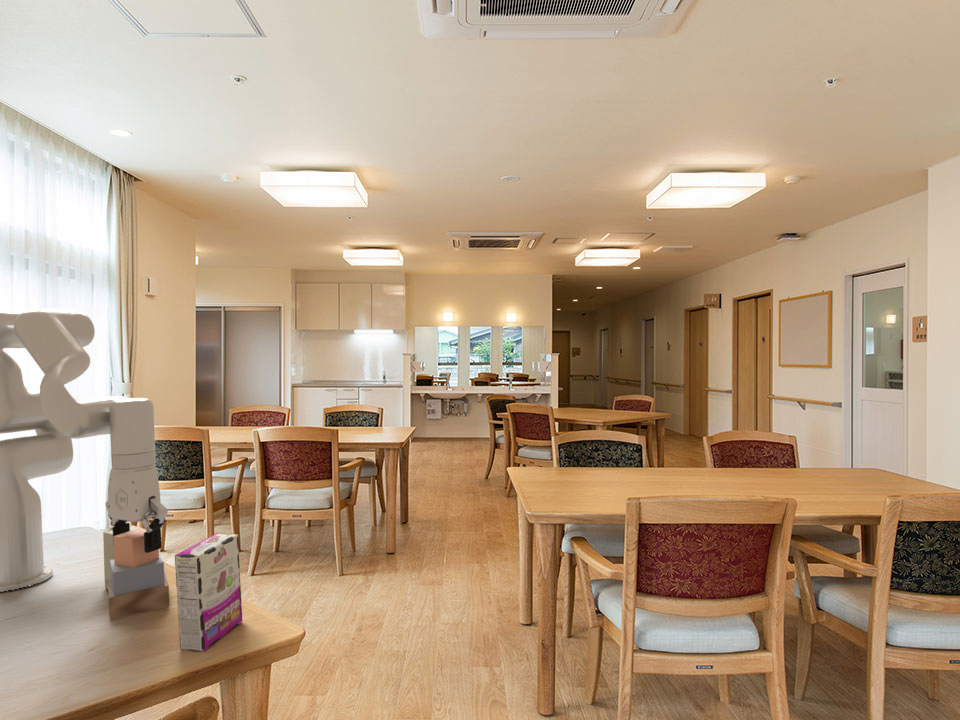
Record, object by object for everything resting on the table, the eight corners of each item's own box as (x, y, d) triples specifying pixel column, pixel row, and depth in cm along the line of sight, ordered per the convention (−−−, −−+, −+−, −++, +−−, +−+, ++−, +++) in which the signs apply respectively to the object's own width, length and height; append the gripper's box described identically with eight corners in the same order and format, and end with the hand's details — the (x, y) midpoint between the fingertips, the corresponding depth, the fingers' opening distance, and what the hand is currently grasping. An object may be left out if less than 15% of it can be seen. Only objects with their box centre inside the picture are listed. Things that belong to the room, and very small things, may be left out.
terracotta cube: (114, 564, 117) (113, 536, 117) (140, 554, 122) (139, 528, 122) (133, 567, 115) (131, 539, 115) (159, 558, 120) (157, 530, 120)
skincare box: (114, 593, 124) (112, 535, 124) (103, 589, 127) (101, 532, 126) (145, 582, 130) (143, 527, 129) (134, 578, 132) (132, 524, 132)
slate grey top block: (114, 596, 113) (113, 572, 112) (110, 582, 119) (109, 560, 119) (164, 584, 118) (163, 562, 117) (158, 571, 124) (157, 550, 124)
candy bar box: (219, 620, 111) (215, 532, 110) (243, 622, 110) (240, 533, 109) (176, 651, 100) (173, 553, 99) (203, 653, 99) (199, 555, 98)
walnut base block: (109, 621, 112) (108, 598, 112) (109, 603, 120) (108, 581, 120) (169, 608, 117) (168, 585, 117) (164, 591, 126) (164, 569, 125)
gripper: (87, 461, 118) (90, 548, 118) (145, 467, 111) (148, 559, 111) (123, 455, 125) (127, 536, 125) (180, 460, 117) (184, 547, 118)
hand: (137, 547), depth 118 cm, fingers open, 9 cm apart
